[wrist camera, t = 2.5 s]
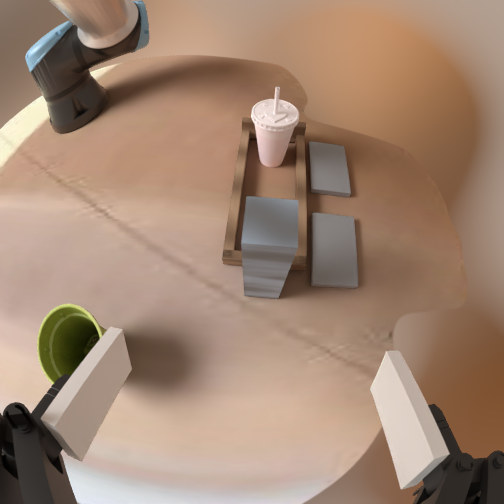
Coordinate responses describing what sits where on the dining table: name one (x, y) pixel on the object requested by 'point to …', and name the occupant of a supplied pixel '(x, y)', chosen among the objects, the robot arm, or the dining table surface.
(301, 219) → the sled
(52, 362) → the plant pot
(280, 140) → the smoothie
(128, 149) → the dining table surface
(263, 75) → the dining table surface
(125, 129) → the dining table surface
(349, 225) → the broken strip
